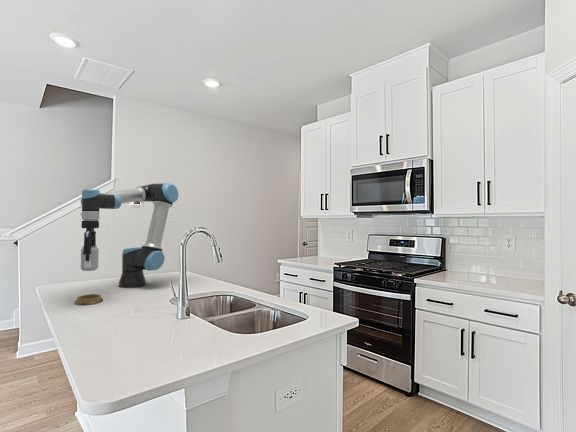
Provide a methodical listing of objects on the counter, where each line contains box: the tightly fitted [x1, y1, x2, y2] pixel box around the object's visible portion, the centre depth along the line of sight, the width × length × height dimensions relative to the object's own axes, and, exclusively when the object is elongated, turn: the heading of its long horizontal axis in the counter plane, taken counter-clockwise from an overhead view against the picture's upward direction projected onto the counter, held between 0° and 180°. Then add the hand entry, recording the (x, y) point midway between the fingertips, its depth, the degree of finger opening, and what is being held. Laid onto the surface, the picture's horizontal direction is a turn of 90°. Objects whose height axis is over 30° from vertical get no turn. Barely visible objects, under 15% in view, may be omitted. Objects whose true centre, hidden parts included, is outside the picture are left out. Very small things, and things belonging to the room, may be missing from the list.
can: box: [80, 245, 100, 272], centre depth 166 cm, size 8×8×12 cm
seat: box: [74, 293, 104, 306], centre depth 166 cm, size 12×12×3 cm
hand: (89, 266), depth 166 cm, fingers closed on can, 7 cm apart
